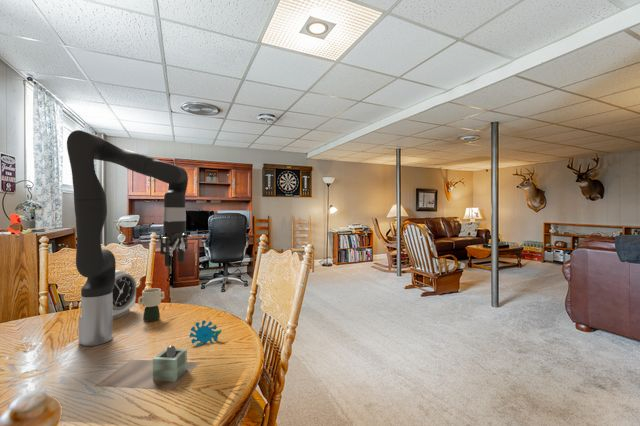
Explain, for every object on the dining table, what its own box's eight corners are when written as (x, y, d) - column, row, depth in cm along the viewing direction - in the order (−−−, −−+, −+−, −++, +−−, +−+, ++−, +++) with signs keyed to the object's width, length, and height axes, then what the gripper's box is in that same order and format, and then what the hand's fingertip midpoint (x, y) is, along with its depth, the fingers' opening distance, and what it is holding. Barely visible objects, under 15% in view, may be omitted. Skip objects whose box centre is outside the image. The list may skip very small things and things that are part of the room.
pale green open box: (152, 380, 84) (152, 359, 84) (166, 368, 90) (166, 348, 90) (175, 381, 84) (175, 360, 83) (186, 369, 90) (186, 349, 90)
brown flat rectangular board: (95, 390, 81) (95, 385, 81) (131, 363, 95) (131, 359, 95) (174, 394, 80) (174, 389, 80) (199, 366, 94) (199, 362, 94)
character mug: (160, 314, 138) (160, 286, 138) (168, 318, 134) (168, 288, 133) (134, 322, 129) (134, 291, 129) (142, 326, 125) (142, 294, 125)
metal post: (164, 376, 86) (164, 347, 86) (169, 371, 88) (169, 343, 88) (172, 376, 86) (172, 348, 86) (177, 372, 88) (177, 344, 88)
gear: (190, 348, 102) (190, 320, 109) (186, 355, 106) (186, 327, 112) (223, 344, 108) (221, 318, 115) (218, 352, 112) (216, 326, 118)
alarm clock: (105, 324, 126) (105, 275, 126) (88, 322, 128) (88, 274, 127) (138, 310, 144) (138, 267, 143) (123, 308, 145) (122, 266, 145)
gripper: (175, 219, 119) (175, 260, 120) (153, 220, 105) (153, 267, 106) (194, 219, 119) (193, 260, 119) (174, 220, 105) (174, 267, 105)
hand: (174, 263), depth 112 cm, fingers open, 8 cm apart
